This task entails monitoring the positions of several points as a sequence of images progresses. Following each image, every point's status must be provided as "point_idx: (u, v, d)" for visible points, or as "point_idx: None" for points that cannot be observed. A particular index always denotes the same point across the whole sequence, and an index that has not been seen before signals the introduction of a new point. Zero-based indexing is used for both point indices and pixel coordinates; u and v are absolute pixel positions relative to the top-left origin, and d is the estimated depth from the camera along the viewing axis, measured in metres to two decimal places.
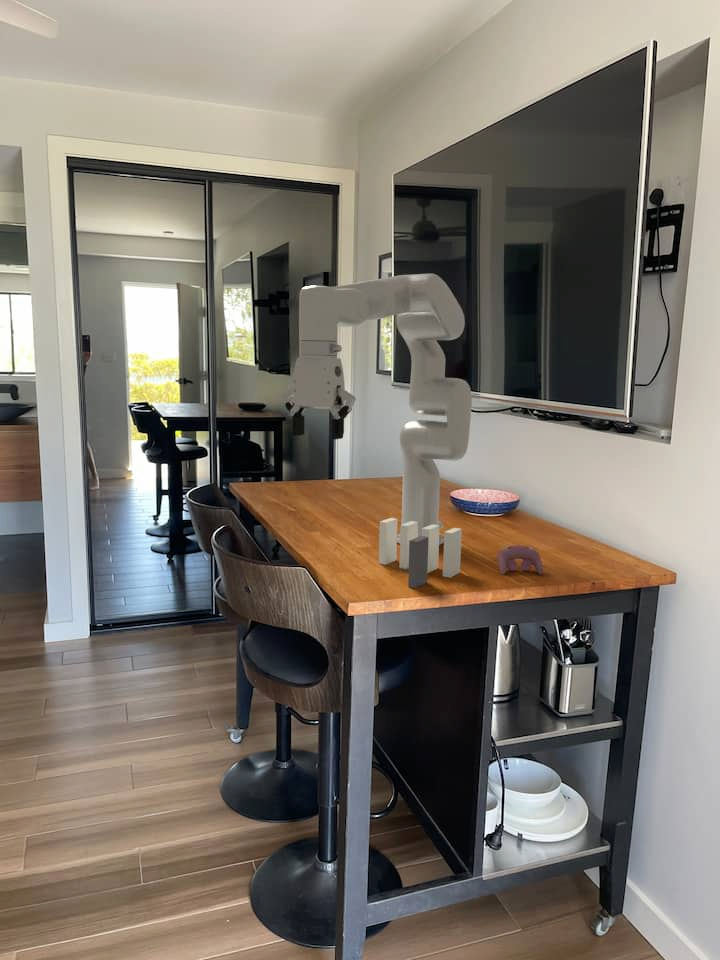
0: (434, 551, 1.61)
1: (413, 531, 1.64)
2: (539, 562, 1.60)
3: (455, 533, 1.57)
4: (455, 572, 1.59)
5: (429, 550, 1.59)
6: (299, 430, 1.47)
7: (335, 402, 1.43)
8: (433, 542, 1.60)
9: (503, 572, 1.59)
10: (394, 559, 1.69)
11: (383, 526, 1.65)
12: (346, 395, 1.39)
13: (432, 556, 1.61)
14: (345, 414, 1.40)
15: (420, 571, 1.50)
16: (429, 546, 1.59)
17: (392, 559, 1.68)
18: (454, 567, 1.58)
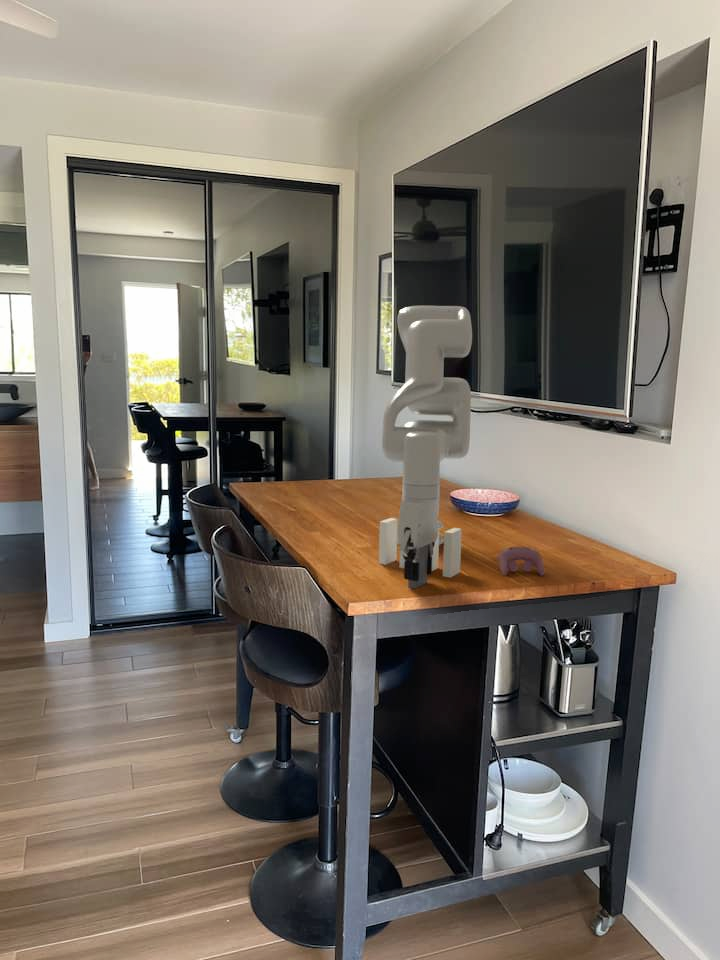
0: (434, 551, 1.61)
1: None
2: (540, 563, 1.60)
3: (455, 533, 1.57)
4: (455, 572, 1.59)
5: None
6: None
7: None
8: None
9: (504, 573, 1.58)
10: (394, 559, 1.69)
11: (383, 526, 1.65)
12: None
13: (432, 556, 1.61)
14: None
15: (420, 571, 1.50)
16: None
17: (392, 559, 1.68)
18: (454, 567, 1.58)
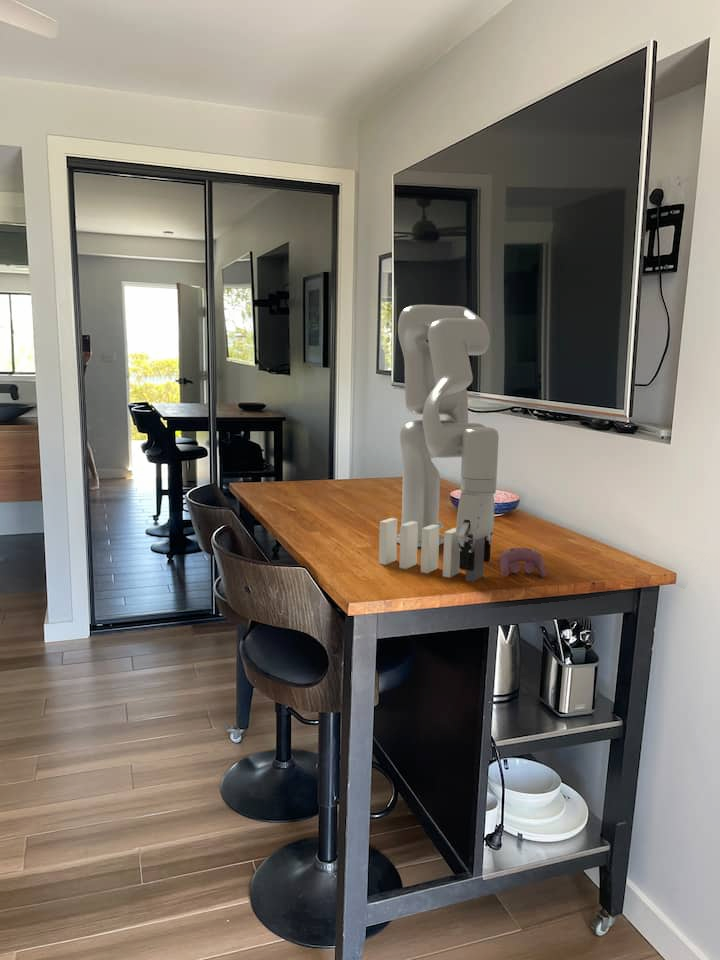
0: (434, 551, 1.61)
1: (413, 531, 1.64)
2: (542, 564, 1.58)
3: (455, 533, 1.57)
4: (455, 572, 1.59)
5: (429, 550, 1.59)
6: None
7: None
8: (433, 542, 1.60)
9: (505, 575, 1.57)
10: (394, 559, 1.69)
11: (383, 526, 1.65)
12: None
13: (432, 556, 1.61)
14: None
15: (477, 565, 1.55)
16: (429, 546, 1.59)
17: (392, 559, 1.68)
18: (454, 567, 1.58)
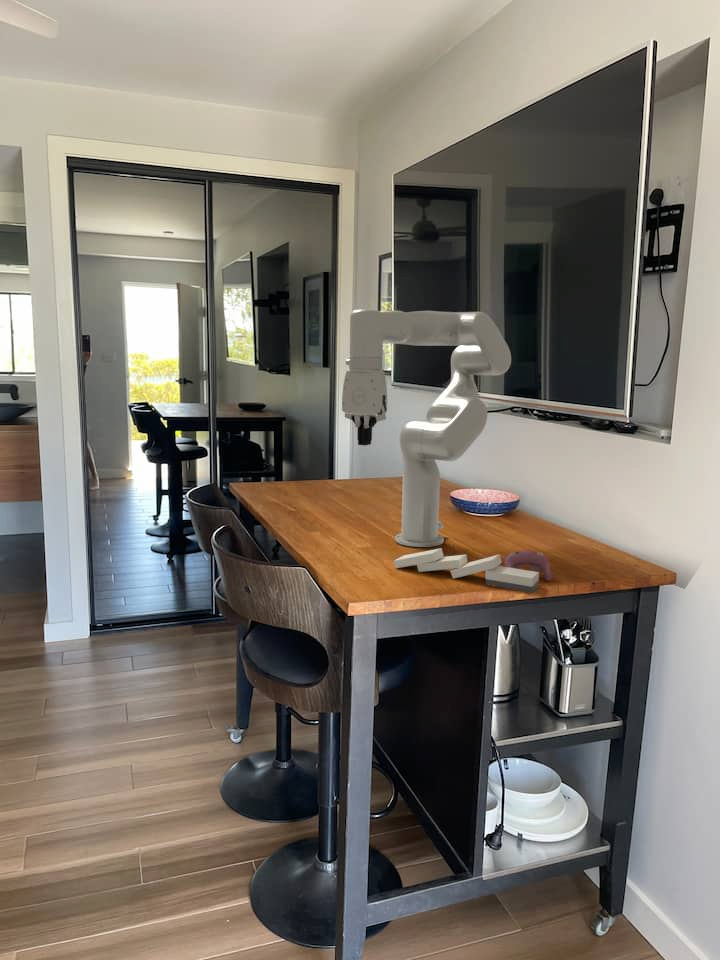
0: None
1: None
2: (547, 568, 1.56)
3: None
4: None
5: (475, 572, 1.54)
6: None
7: None
8: None
9: None
10: None
11: (429, 558, 1.59)
12: None
13: None
14: None
15: None
16: (478, 571, 1.54)
17: None
18: None
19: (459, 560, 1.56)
